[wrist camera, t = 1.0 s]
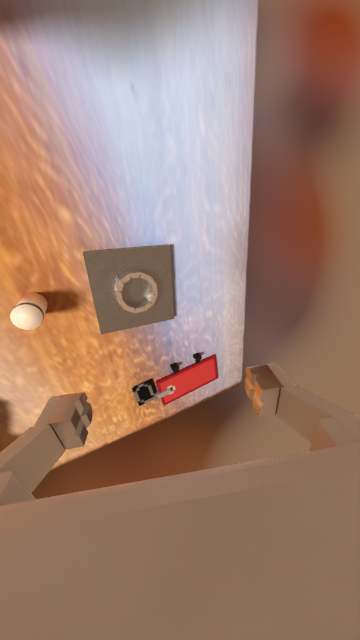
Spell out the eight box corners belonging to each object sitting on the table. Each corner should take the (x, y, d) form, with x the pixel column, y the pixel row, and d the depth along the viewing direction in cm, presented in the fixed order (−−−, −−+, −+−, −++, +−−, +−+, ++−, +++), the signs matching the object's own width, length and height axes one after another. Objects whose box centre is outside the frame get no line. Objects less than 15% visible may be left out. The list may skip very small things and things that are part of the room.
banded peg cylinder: (16, 294, 44) (5, 307, 37) (44, 290, 46) (38, 302, 39) (24, 316, 46) (15, 332, 40) (51, 312, 48) (46, 326, 41)
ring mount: (82, 251, 46) (83, 253, 43) (168, 244, 53) (174, 246, 49) (100, 331, 55) (102, 338, 51) (172, 316, 61) (177, 322, 58)
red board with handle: (129, 382, 65) (142, 412, 72) (131, 388, 62) (144, 419, 70) (212, 345, 73) (215, 375, 81) (216, 349, 71) (220, 380, 78)
